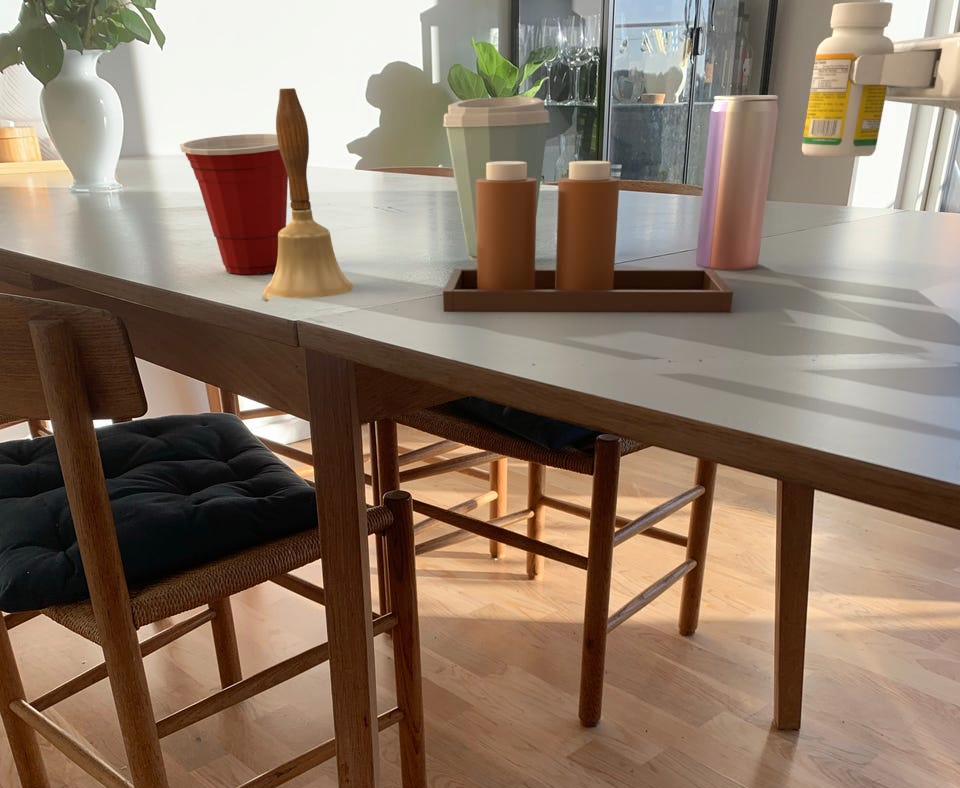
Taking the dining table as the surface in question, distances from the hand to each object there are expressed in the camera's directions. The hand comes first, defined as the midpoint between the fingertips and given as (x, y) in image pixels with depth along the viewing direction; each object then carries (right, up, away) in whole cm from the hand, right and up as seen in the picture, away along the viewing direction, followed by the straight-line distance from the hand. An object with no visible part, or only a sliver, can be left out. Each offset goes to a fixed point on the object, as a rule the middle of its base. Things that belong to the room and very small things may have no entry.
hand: (839, 70), depth 69 cm
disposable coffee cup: (-25, -2, +31) cm, 39 cm away
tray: (-18, -14, +10) cm, 25 cm away
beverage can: (-2, -6, +24) cm, 25 cm away
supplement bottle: (+1, -5, +3) cm, 6 cm away
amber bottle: (-18, -13, +10) cm, 24 cm away
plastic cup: (-49, -4, +27) cm, 56 cm away
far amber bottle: (-24, -13, +10) cm, 29 cm away
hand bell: (-42, -11, +15) cm, 46 cm away
